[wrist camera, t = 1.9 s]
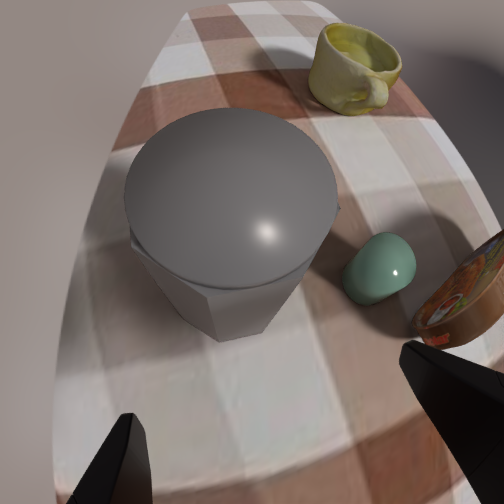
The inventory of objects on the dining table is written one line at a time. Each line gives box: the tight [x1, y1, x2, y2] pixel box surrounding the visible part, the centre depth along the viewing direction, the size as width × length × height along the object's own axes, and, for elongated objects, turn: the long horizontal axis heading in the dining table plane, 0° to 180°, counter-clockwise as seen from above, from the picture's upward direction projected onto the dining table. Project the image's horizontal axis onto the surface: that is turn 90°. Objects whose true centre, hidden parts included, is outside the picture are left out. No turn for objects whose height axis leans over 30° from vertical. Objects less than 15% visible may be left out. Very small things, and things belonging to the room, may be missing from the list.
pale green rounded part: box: [342, 232, 416, 306], centre depth 21 cm, size 4×4×4 cm
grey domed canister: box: [124, 108, 341, 342], centre depth 16 cm, size 7×7×13 cm
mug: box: [308, 23, 402, 116], centre depth 28 cm, size 12×10×10 cm
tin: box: [412, 229, 504, 350], centre depth 19 cm, size 15×3×8 cm, turn 122°
